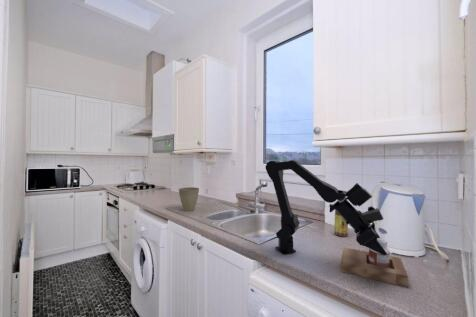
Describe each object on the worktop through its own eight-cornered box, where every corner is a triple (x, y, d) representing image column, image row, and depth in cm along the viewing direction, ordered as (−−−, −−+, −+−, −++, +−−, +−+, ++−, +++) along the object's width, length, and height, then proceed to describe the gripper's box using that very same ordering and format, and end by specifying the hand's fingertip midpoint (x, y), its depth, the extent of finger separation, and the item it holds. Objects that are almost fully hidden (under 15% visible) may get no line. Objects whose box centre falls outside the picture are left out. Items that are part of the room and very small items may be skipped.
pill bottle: (366, 265, 82) (367, 236, 82) (385, 268, 80) (386, 238, 80) (371, 273, 76) (371, 242, 76) (391, 277, 74) (392, 244, 74)
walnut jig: (340, 271, 78) (340, 261, 78) (343, 255, 90) (343, 247, 90) (407, 287, 68) (407, 276, 68) (400, 267, 81) (400, 258, 81)
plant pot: (186, 206, 174) (186, 186, 173) (202, 208, 168) (202, 188, 168) (174, 211, 160) (174, 189, 160) (191, 213, 154) (191, 190, 154)
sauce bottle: (343, 238, 110) (344, 198, 109) (331, 234, 115) (332, 196, 114) (350, 235, 113) (350, 197, 113) (338, 231, 119) (339, 195, 118)
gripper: (368, 205, 71) (410, 246, 66) (367, 196, 88) (400, 228, 83) (341, 225, 75) (379, 265, 70) (344, 213, 92) (375, 245, 86)
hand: (384, 249), depth 77 cm, fingers open, 9 cm apart
